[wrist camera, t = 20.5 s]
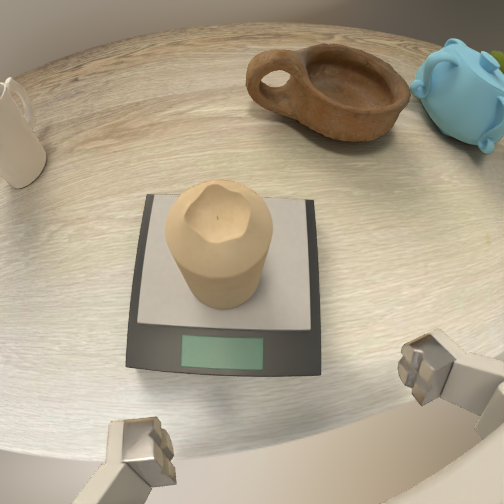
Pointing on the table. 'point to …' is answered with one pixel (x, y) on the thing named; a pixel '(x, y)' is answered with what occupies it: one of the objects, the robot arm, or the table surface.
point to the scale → (234, 319)
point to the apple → (499, 59)
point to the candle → (220, 241)
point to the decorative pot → (463, 94)
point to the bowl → (331, 90)
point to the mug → (18, 138)
